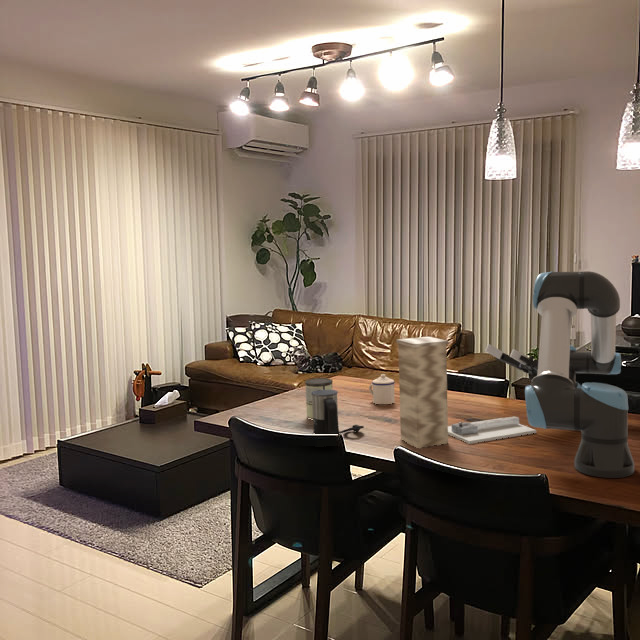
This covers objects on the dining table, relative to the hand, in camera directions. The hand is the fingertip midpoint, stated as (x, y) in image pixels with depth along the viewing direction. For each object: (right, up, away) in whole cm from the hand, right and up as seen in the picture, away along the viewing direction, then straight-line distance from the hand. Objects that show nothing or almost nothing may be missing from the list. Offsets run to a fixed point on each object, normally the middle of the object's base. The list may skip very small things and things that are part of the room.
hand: (499, 350), depth 223 cm
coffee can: (-59, -27, +28) cm, 71 cm away
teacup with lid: (-35, -24, +48) cm, 64 cm away
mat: (-4, -27, +1) cm, 28 cm away
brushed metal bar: (-4, -26, +1) cm, 27 cm away
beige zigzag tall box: (-26, -29, -7) cm, 40 cm away
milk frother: (-53, -29, +5) cm, 61 cm away
